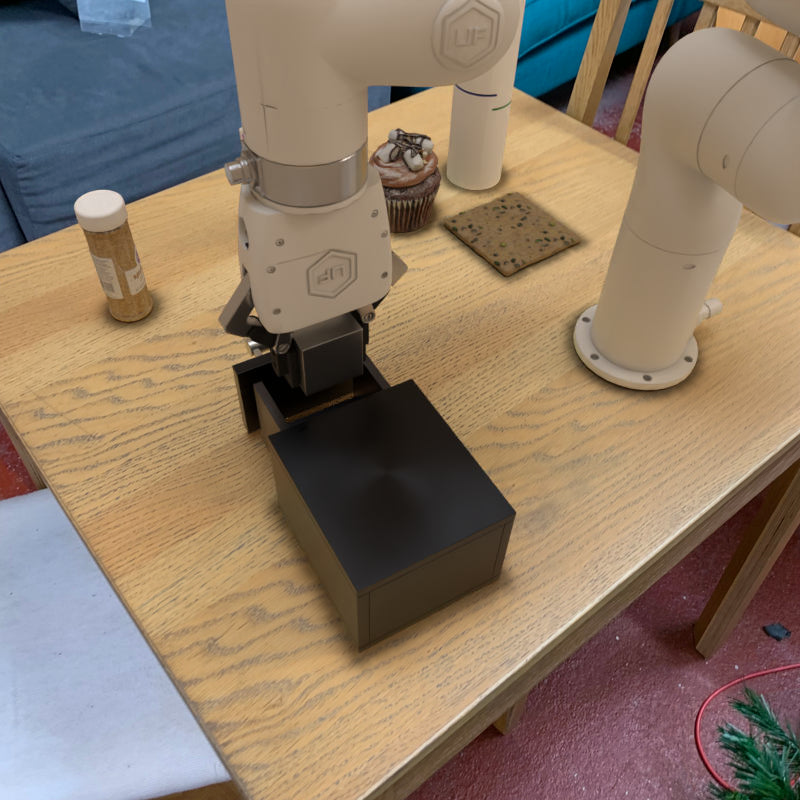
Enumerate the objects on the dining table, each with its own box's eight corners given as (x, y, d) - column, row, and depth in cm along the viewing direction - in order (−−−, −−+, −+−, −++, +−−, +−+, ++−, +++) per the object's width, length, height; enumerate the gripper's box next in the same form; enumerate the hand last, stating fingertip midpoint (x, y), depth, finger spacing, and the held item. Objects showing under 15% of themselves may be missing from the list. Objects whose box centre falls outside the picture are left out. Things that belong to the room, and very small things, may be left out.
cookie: (583, 241, 91) (584, 235, 91) (506, 277, 87) (507, 271, 86) (516, 193, 98) (518, 187, 97) (441, 224, 93) (442, 218, 92)
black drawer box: (278, 507, 66) (267, 436, 58) (407, 451, 70) (412, 378, 63) (358, 653, 57) (356, 591, 50) (499, 579, 62) (516, 512, 54)
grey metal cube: (335, 336, 64) (333, 290, 60) (363, 374, 61) (362, 328, 57) (280, 356, 62) (274, 310, 58) (306, 396, 59) (302, 350, 56)
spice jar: (160, 313, 81) (130, 206, 71) (118, 329, 79) (81, 221, 69) (144, 289, 84) (113, 182, 74) (103, 304, 82) (65, 196, 72)
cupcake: (369, 186, 98) (369, 113, 91) (444, 197, 97) (450, 123, 90) (351, 230, 92) (349, 155, 84) (430, 242, 91) (436, 167, 83)
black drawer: (223, 389, 73) (210, 329, 67) (332, 349, 77) (329, 289, 71) (306, 537, 63) (299, 481, 57) (427, 482, 67) (432, 424, 61)
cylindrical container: (442, 160, 103) (458, -43, 84) (494, 159, 103) (522, -44, 85) (450, 191, 98) (469, -18, 79) (505, 188, 99) (536, -19, 80)
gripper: (197, 230, 43) (239, 435, 56) (455, 156, 49) (436, 357, 62) (155, 165, 47) (203, 370, 60) (397, 104, 53) (391, 303, 66)
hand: (321, 362), depth 61 cm, fingers closed on grey metal cube, 5 cm apart
